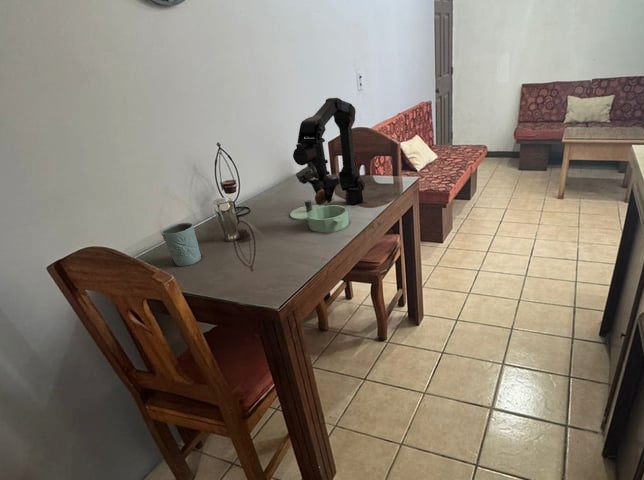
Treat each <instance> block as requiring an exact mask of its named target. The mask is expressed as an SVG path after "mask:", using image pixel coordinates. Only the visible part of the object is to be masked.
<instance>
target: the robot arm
mask: <svg viewBox="0 0 644 480" xmlns="http://www.w3.org/2000/svg"><path fill="white" fill-rule="evenodd" d="M356 113H357V112H356V108H355V106H353V104H352V103H351V102H348V101H345V100H342V99H341V98H340V97H328V98H326V99H325V102H324V103H323V104H322V105H321V106H320V108H319V109H318V110H317V111H316V112H315V114H313V115H312V116H309V117H307V118H305V119H304V120H302V121H301V122H300V125H299V131H298V136H297V143H296V145H295V147H296V148H295V149H294V150H293V154H292V158H293V160H294V162H295V164H297V165H299V166H305V165H306V167H303V168H302V169H301V170H298V171H297V173H295V176H296V178H297V180H298V181H299V183H301V184H303V185H305V184H310V185H311V187H312V188H313V190H314V193H315V194H316V193H317V192H318V191H319V190H321V189H323V190H324V193H325V196H326V199H327V202H328V203H327V204H330V203H332V201H333V200H332V198H333V196H334V193H335V190H336V188H337V186H338V185H340V188H341V190H342V192H344V191H345V194H344V195H345V196H344V197H345V204H346V205H349V206H351V207H355V206H357V205H361V204H365V203H366V201H365V200H364V197H363V191H365V188H366V182H365V181H364V180H363V179H362V177H361V174H360V171H359V169H358V168H357V166H356V164H355V151H354V139H353V127H354V124H355V121H356ZM332 117H333V120H334V124H335V125H336V126H337V128H338V130H339V139H340V141H339V142H340V150H341V151H340V152H341V160H342V168H341V169H340V171H339V172H338V176H337V175H334V174H330V173H331V172H330V171H329V170H328V168H327V164H328V163H329V160H328V159H326V155H325V148H324V143H325V142H326V139H325V138H324V137H323V136H324V133H325V132H326V126H327V124H328V122H329V121H330V120H331V119H332ZM331 200H332V201H331Z"/></svg>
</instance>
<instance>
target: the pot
mask: <svg viewBox="0 0 644 480" xmlns="http://www.w3.org/2000/svg"><path fill="white" fill-rule="evenodd" d="M307 218H308V220H307V222H308V227H309V228H308V229H310V230H312V232H313V231H314V232H318V233H320V234H330V233H335V232H338V231H341V230H344V229H345V228H347V227H348V226H349V223H350V219H349V213H348V209H347V207H345V206H343V205H339V204H338V205H337V204H334V205H331V204H329V205H324V206H323V207H317V208H313V210H311V211H309V213H308V214H307Z"/></svg>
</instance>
